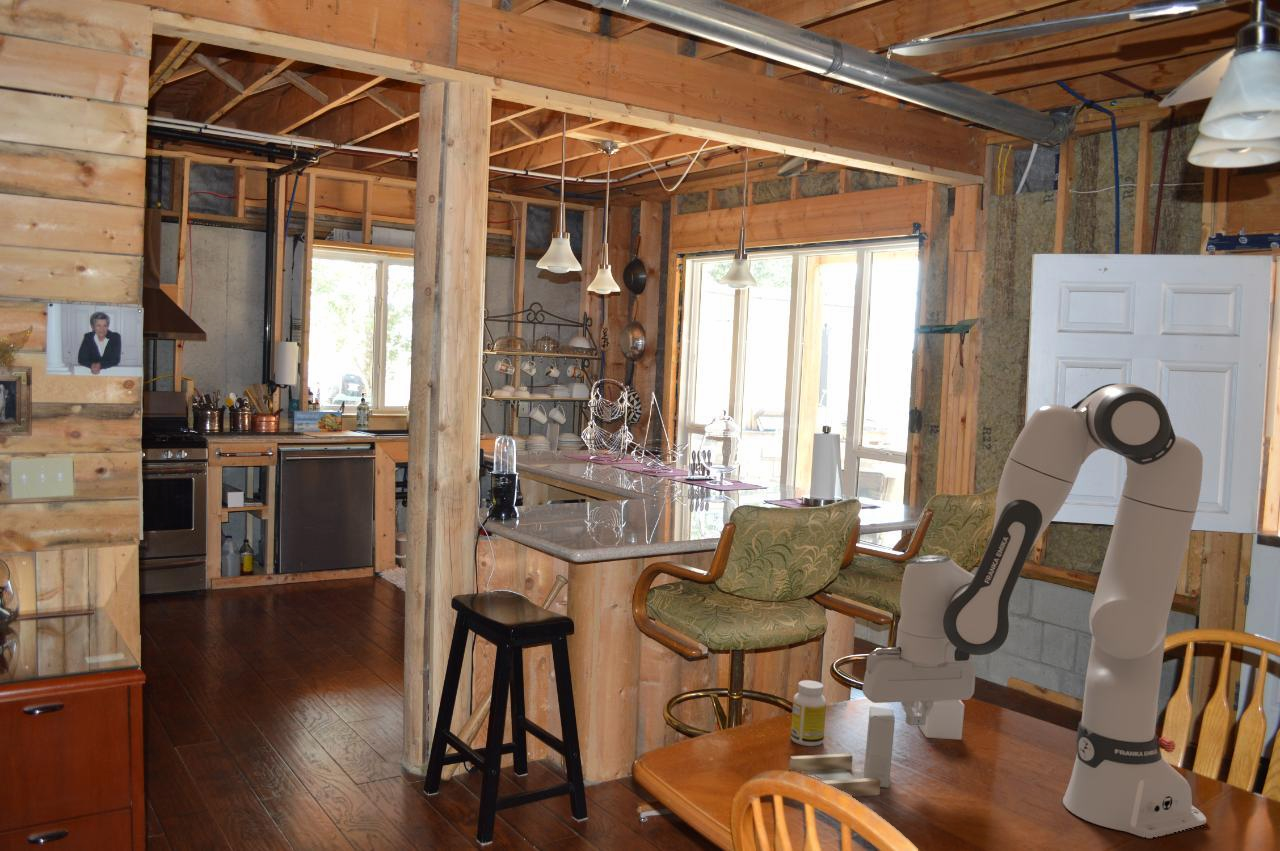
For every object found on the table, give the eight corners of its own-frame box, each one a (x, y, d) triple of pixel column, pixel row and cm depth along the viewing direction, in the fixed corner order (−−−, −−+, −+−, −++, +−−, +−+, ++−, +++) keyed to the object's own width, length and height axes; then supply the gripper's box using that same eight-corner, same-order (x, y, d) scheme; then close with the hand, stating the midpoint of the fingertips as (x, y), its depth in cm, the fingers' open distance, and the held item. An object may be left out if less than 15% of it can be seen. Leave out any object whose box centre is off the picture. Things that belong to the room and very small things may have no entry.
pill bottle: (828, 740, 195) (832, 683, 195) (815, 750, 190) (820, 692, 189) (798, 731, 199) (802, 676, 198) (785, 741, 194) (789, 684, 193)
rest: (848, 766, 183) (849, 753, 183) (879, 794, 172) (880, 780, 172) (789, 770, 180) (790, 756, 180) (816, 798, 169) (817, 784, 169)
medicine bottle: (962, 740, 200) (967, 680, 199) (925, 738, 200) (931, 678, 199) (951, 726, 207) (957, 668, 206) (916, 724, 207) (921, 666, 206)
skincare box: (889, 788, 175) (895, 720, 174) (864, 785, 176) (869, 717, 175) (888, 774, 181) (893, 708, 180) (863, 771, 182) (869, 705, 181)
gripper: (877, 653, 173) (870, 733, 174) (983, 651, 178) (976, 728, 179) (859, 642, 179) (853, 719, 180) (962, 640, 184) (955, 715, 185)
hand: (915, 724), depth 180 cm, fingers closed
